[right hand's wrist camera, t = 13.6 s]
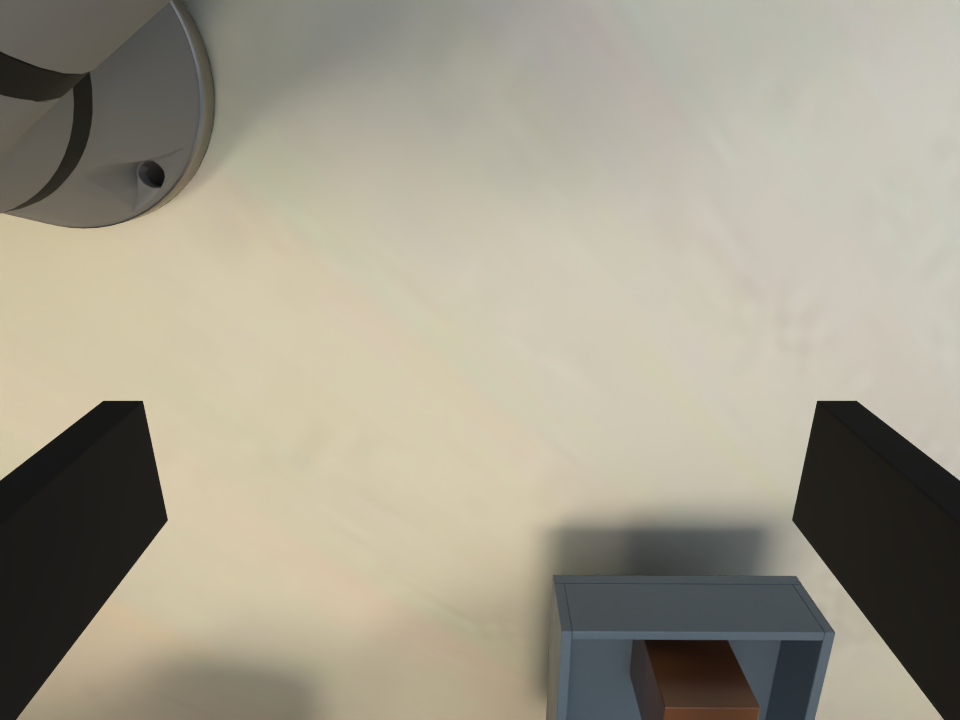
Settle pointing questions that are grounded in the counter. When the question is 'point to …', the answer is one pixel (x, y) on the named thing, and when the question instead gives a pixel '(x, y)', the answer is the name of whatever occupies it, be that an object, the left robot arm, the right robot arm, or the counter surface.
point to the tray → (683, 638)
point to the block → (690, 681)
